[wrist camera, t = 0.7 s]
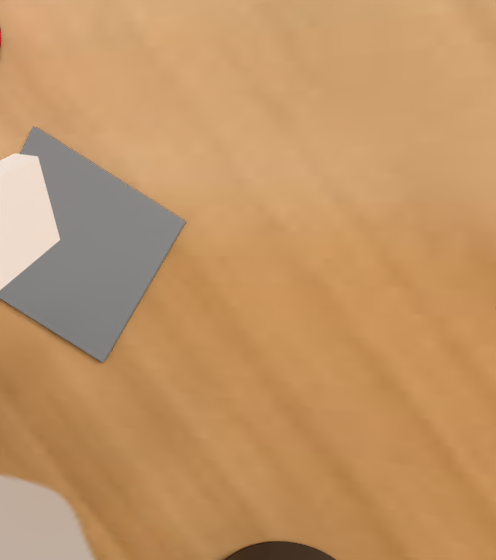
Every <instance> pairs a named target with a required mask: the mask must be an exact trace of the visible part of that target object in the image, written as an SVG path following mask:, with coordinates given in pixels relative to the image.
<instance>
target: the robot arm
mask: <svg viewBox="0 0 496 560" xmlns="http://www.w3.org/2000/svg"><path fill="white" fill-rule="evenodd" d="M59 240H60V237H59V233H58V229H57V226H56V222H55V218H54V214H53V211H52V207H51V203H50V200H49V196H48V192H47V188H46V185H45V181H44V177H43V173H42V170H41V166H40V162H39V158H38V156H31V155H23V154H15V153H14V154H12V155H10V156H8V157H6V158H4V159H2V160H0V290H1V289H2V288H3V287H5V286H6V285H7V284H8V283H9V282H11V281H12V280H13V279H14V278H15V277H17V276H18V275H19V274H20V273H21V272H22V271H24V270H25V269H26V268H27V267H28V266H30V265H31V264H32V263H33V262H34V261H36V260H37V259H38V258H39V257H40V256H42V255H43V254H44V253H45V252H46V251H47V250H49V249H50V248H51V247H52V246H53V245H55V244H56V243H57V242H58V241H59ZM495 309H496V308H495ZM227 560H335V559H334V558H332V557H331V556H329V555H327V554H325V553H323V552H321V551H319V550H317V549H314V548H312V547H309V546H305V545H301V544H296V543H289V542H270V543H263V544H258V545H254V546H251V547H248V548H246V549H243V550H241V551H239V552H237V553H236V554H234V555H232V556H231V557H230V558H228V559H227Z"/></svg>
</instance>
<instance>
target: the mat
mask: <svg viewBox="0 0 496 560" xmlns="http://www.w3.org/2000/svg"><path fill="white" fill-rule="evenodd" d="M20 154H23V155H31V156H38V158H39V162H40V166H41V170H42V173H43V177H44V181H45V185H46V188H47V192H48V196H49V200H50V203H51V207H52V211H53V214H54V218H55V222H56V226H57V229H58V233H59V237H60V240H59V241H58V242H57V243H56V244H55V245H53V246H52V247H51V248H50V249H49V250H47V251H46V252H45V253H44V254H43V255H42V256H40V257H39V258H38V259H37V260H36V261H34V262H33V263H32V264H31V265H30V266H28V267H27V268H26V269H25V270H24V271H22V272H21V273H20V274H19V275H18V276H17V277H15V278H14V279H13V280H12V281H11V282H9V283H8V284H7V285H6V286H5V287H3V288H2V289H1V290H0V299H2V300H3V301H5V302H7V303H8V304H10V305H11V306H13V307H15V308H16V309H18V310H19V311H21V312H23V313H24V314H26V315H27V316H29V317H31V318H32V319H34V320H35V321H37V322H39V323H40V324H42V325H43V326H45V327H47V328H48V329H50V330H51V331H53V332H55V333H56V334H58V335H59V336H61V337H63V338H64V339H66V340H67V341H69V342H71V343H72V344H74V345H75V346H77V347H79V348H80V349H82V350H83V351H85V352H87V353H88V354H90V355H91V356H93V357H95V358H96V359H98V360H99V361H101V362H104V361H106V359H107V358H108V356H109V354H110V352H111V351H112V349H113V347H114V346H115V344H116V342H117V340H118V339H119V337H120V335H121V333H122V332H123V330H124V328H125V327H126V325H127V323H128V321H129V320H130V318H131V316H132V315H133V313H134V311H135V309H136V308H137V306H138V304H139V303H140V301H141V299H142V297H143V296H144V294H145V292H146V291H147V289H148V287H149V285H150V284H151V282H152V280H153V279H154V277H155V275H156V273H157V272H158V270H159V268H160V266H161V265H162V263H163V261H164V260H165V258H166V256H167V254H168V253H169V251H170V249H171V248H172V246H173V244H174V242H175V241H176V239H177V237H178V236H179V234H180V232H181V230H182V229H183V227H184V225H185V224H186V221H185V220H183V219H182V218H180V217H179V216H177V215H175V214H174V213H172V212H171V211H169V210H167V209H166V208H164V207H163V206H161V205H159V204H158V203H156V202H155V201H153V200H152V199H150V198H148V197H147V196H145V195H144V194H142V193H140V192H139V191H137V190H136V189H134V188H133V187H131V186H129V185H128V184H126V183H125V182H123V181H121V180H120V179H118V178H117V177H115V176H114V175H112V174H110V173H109V172H107V171H106V170H104V169H102V168H101V167H99V166H98V165H96V164H95V163H93V162H91V161H90V160H88V159H87V158H85V157H83V156H82V155H80V154H79V153H77V152H76V151H74V150H72V149H71V148H69V147H68V146H66V145H64V144H63V143H61V142H60V141H58V140H57V139H55V138H53V137H52V136H50V135H49V134H47V133H45V132H44V131H42V130H41V129H39V128H37V127H34V126H33V128H32V130H31V132H30V134H29V136H28V138H27V141H26V143H25V145H24V147H23V149H22V151H21V153H20Z"/></svg>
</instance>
